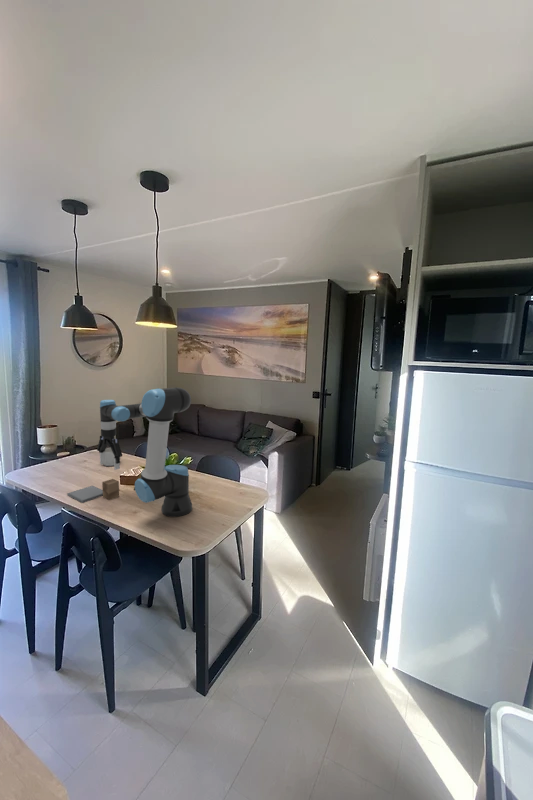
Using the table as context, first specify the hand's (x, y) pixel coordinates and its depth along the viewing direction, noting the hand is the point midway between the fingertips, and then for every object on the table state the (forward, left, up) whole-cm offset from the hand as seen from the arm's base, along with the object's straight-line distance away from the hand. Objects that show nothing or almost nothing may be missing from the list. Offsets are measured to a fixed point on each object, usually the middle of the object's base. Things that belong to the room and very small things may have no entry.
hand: (109, 466), depth 176 cm
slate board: (+13, +6, -18) cm, 23 cm away
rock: (-1, -18, -18) cm, 25 cm away
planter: (+51, -31, -18) cm, 62 cm away
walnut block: (0, 0, -18) cm, 18 cm away
